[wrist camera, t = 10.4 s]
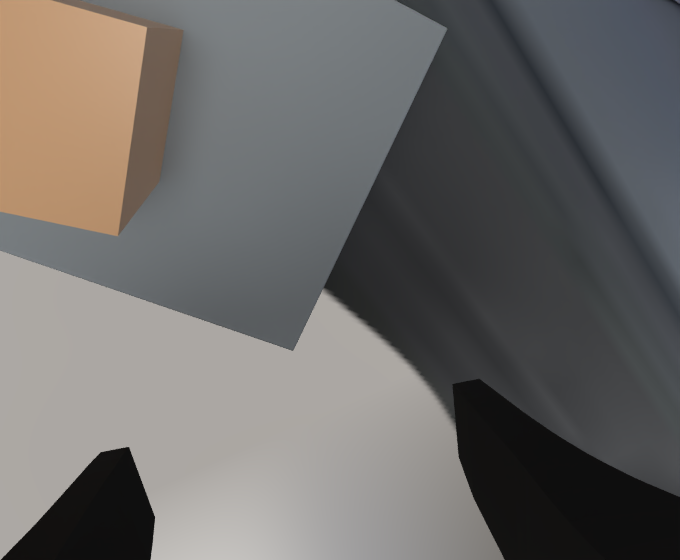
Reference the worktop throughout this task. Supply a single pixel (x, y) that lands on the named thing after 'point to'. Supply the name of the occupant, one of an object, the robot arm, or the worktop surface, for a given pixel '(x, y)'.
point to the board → (254, 158)
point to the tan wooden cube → (82, 111)
